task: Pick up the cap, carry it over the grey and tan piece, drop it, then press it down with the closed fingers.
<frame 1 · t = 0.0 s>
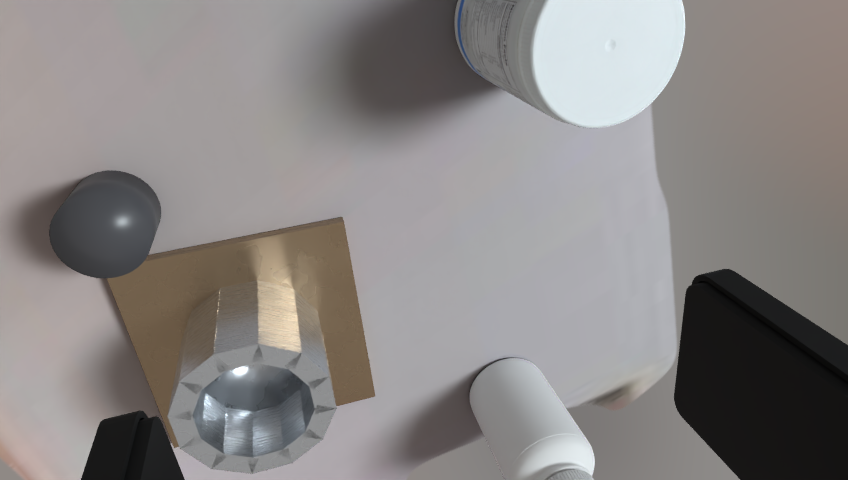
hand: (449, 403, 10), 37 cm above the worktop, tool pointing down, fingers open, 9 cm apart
grey and tan piece: (254, 333, 51), on the worktop
supplement tub: (509, 19, 45), on the worktop
pill bottle: (503, 386, 61), on the worktop
cap: (116, 209, 44), on the worktop
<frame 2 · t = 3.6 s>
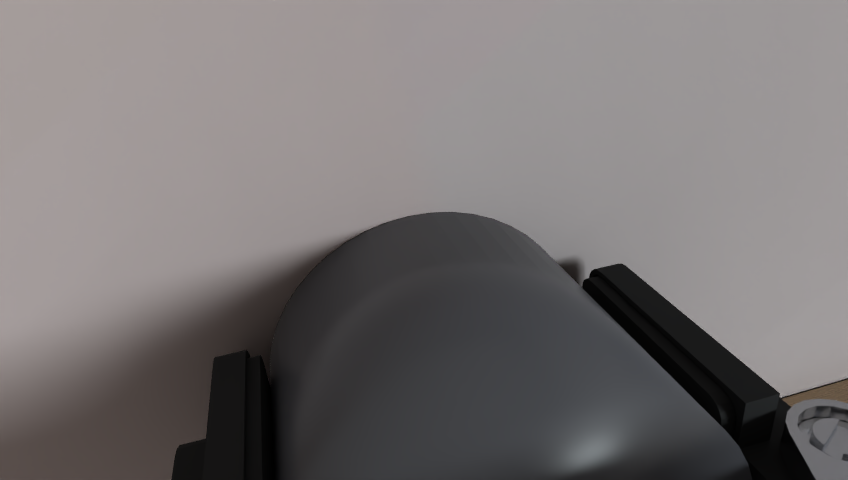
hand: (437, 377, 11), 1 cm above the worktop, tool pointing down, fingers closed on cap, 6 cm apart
cap: (429, 355, 12), on the worktop, touching gripper
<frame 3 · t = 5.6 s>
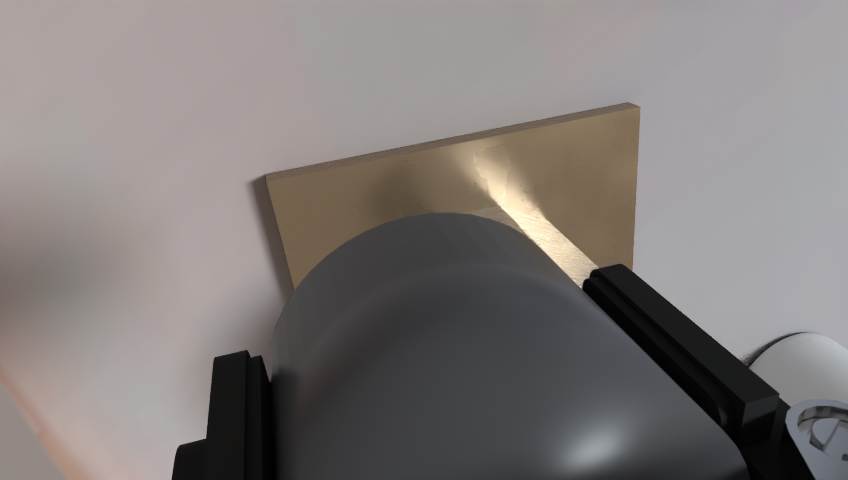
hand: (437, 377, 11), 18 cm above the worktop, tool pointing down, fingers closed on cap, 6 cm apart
grey and tan piece: (472, 295, 32), on the worktop
pill bottle: (780, 375, 42), on the worktop
cap: (428, 356, 12), point 17 cm above the worktop, touching gripper
when the fingers open (12 cm above the worktop, at t = 7.8 s): cap drops 6 cm, resting on grey and tan piece.
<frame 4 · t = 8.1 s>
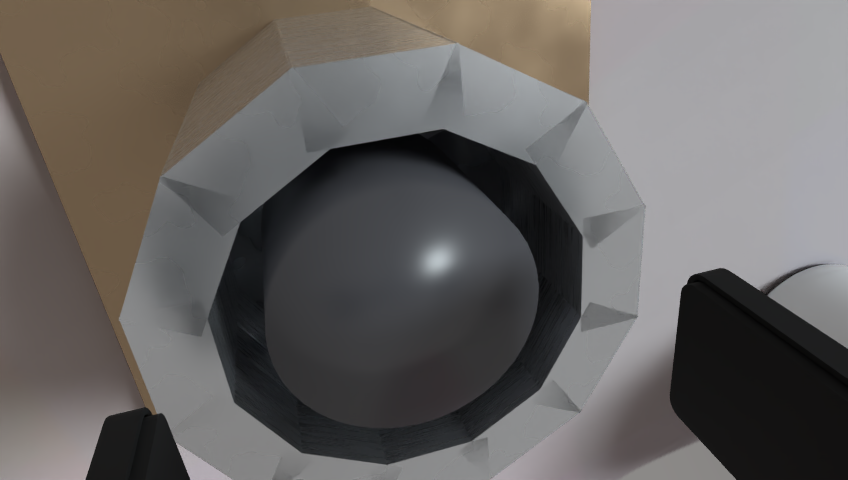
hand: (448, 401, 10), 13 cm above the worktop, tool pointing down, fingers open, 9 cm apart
grey and tan piece: (347, 171, 22), on the worktop
pill bottle: (794, 325, 32), on the worktop
cap: (368, 225, 17), point 5 cm above the worktop, touching grey and tan piece
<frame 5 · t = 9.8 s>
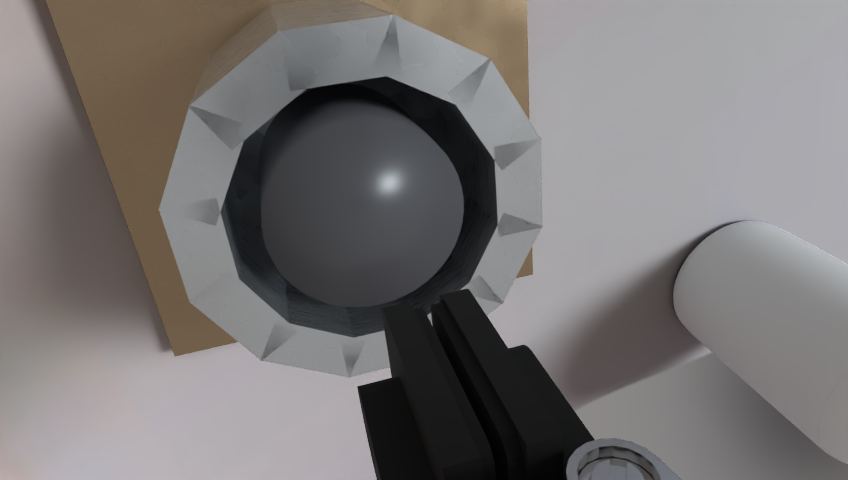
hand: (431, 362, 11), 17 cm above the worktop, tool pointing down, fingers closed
grey and tan piece: (329, 131, 26), on the worktop
pill bottle: (723, 276, 36), on the worktop
cap: (343, 166, 22), point 5 cm above the worktop, touching grey and tan piece
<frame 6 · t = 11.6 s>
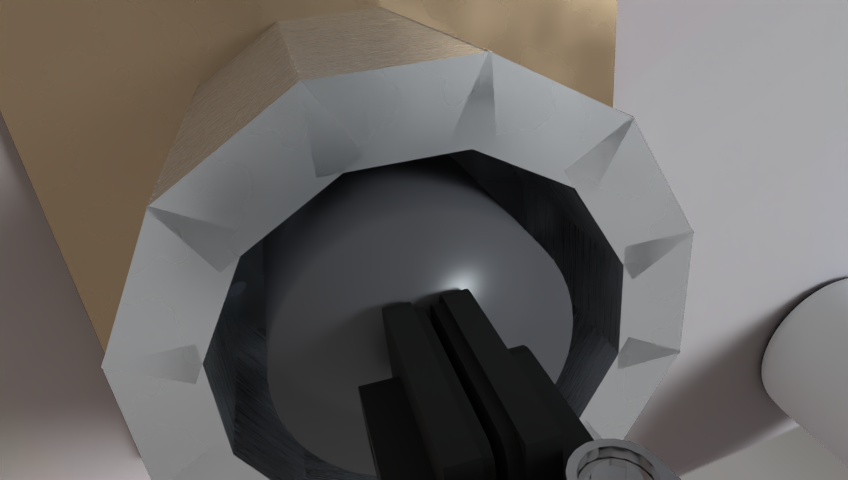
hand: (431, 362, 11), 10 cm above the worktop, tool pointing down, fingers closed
grey and tan piece: (354, 183, 20), on the worktop
pill bottle: (820, 339, 30), on the worktop
cap: (380, 246, 16), point 5 cm above the worktop, touching grey and tan piece, gripper
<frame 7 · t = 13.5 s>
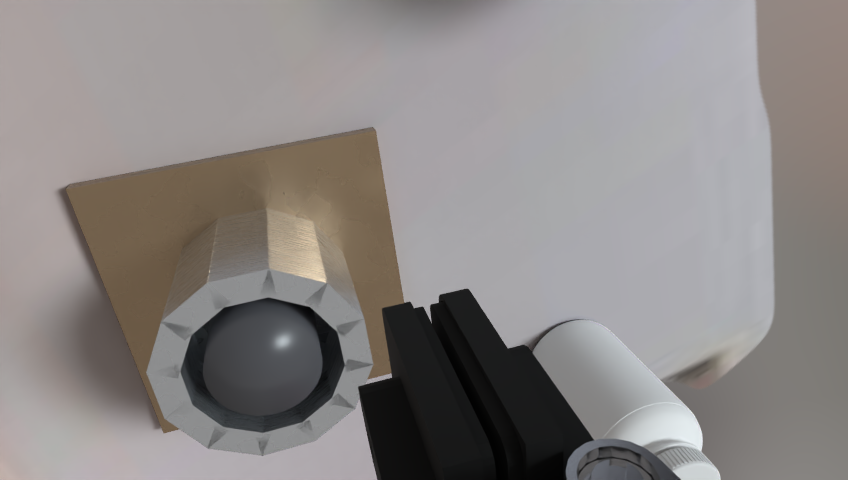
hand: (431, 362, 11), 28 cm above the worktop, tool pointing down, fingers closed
grey and tan piece: (263, 283, 40), on the worktop
pill bottle: (568, 357, 49), on the worktop
cap: (263, 320, 35), point 5 cm above the worktop, touching grey and tan piece
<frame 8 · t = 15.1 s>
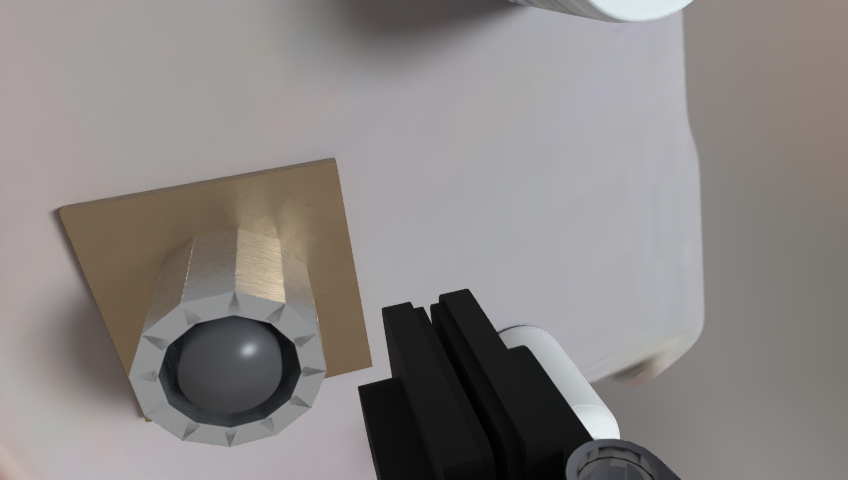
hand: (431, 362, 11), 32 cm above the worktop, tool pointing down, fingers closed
grey and tan piece: (236, 292, 45), on the worktop
pill bottle: (514, 358, 55), on the worktop
cap: (233, 328, 40), point 5 cm above the worktop, touching grey and tan piece
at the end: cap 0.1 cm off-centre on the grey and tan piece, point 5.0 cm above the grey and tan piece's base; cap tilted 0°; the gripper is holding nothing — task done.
